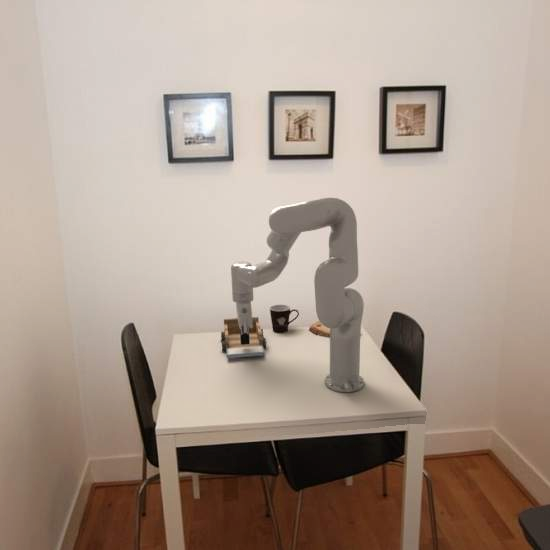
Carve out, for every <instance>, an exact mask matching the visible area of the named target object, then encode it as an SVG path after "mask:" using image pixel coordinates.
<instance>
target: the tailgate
mask: <svg viewBox="0 0 550 550" xmlns="http://www.w3.org/2000/svg"><path fill="white" fill-rule="evenodd" d="M265 353H266V352H265V348H263V346H250V347H237V348H227V353H226V358H227V359H231V358H232V359H233V358H243V357H258V356H265Z"/></svg>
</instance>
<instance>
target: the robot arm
mask: <svg viewBox="0 0 550 550" xmlns="http://www.w3.org/2000/svg"><path fill="white" fill-rule="evenodd" d="M269 214H270V215H269V218H268V225H269V228H270V229H271V230H270V232H269V234H268V235H267V237H266V244H267V246H268V247H269V249H270V250H271V252H270V253H269V255H268V257H267V259H265V261H263V262H260V263H257V264H254V265H252V263H251V262H248V261H237V262H233V263H232V264H231V265H230V273H231V274H230V275H231V292H232V293H231V295H232V302H234V303H235V304H236V306H235V307H236V318H237V319H238V324H239V328H240V329H241V333H240V338H241V345H244V344H250V340H249V328H253V324H252V317H253V310H252V302H254V288H255V289H256V288H260V287H261V286H264V285H266V284H269V283H271V282H274V281H276V280H277V279H278V278H279V277H280V275H281V274H282V272H283V271H284V269H285V268H286V266H287V265H288V262H289V259H290V258H289V256H290V250H291V249H292V247H293V245H294V244H295V242H296V241H297V239H298V238H299V236H300V235H301V234H302V233H306V232H312V231H317V230H320V229H323V228H327V227H330V233H329V238H328V250H329V251H328V252H329V253H328V259H327V260H325V261H323V262H321V263H320V264H319V265H318V267H317V268H316V269H315V272H314V278H313V279H314V281H313V282H314V298H315V299H314V300H315V313H316V315H317V319H318V321H320V322H321V323H322V324H323V325H324V326H325V327H327V328H330V338H329V374H327V375H326V376H325V377H324V384H325V386H326V387H327V388H328V389H330V390H332V391H334V392H339V393H354V392H357V391H359V390H361V389H362V388H364V386H365V380H364V378H363V377H362V376H361V375H360V365H361V364H360V363H361V362H360V360H361V359H360V358H361V355H360V354H361V335H360V334H361V333H362V331H361V329H362V321H363V316H364V315H363V314H364V307H365V304H364V299H363V297H362V294H360V292H359V291H357V289H354V288H350V287H348V286H350V285H352V284H353V283H355V282H357V279H358V277H359V253H358V251H359V250H358V249H359V248H358V224H357V223H358V222H357V217H356V214H355V211H354V210H353V208H352V206H351V205H349V204H348V203H347V202H346V201H345V200H342V199H340V198H338V197H323V198H320V199H314V200H309V201H304V202H299V203H291V204H286V205H280V206H277V207H275V208H274V209H273V210H272V211H271V212H270V213H269ZM248 326H249V327H248Z"/></svg>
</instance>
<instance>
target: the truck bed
mask: <svg viewBox="0 0 550 550" xmlns="http://www.w3.org/2000/svg"><path fill="white" fill-rule="evenodd" d="M252 324H253V328H249V340H250V344H244V345H241V338H240V333H241V329H240V328H239V324H238V319H237V317H236V318H235V317H234V318H224V319H223V331H221V332H220V336H221V337H220V338H221V350H222V352H225V354H227V348H237V347H250V346H263V348H264V349H265V348H267V339H266V338H265V337H264V330H263V328H261V325H260V321H259V316H252ZM248 327H249V326H248Z"/></svg>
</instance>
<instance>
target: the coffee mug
mask: <svg viewBox="0 0 550 550" xmlns="http://www.w3.org/2000/svg"><path fill="white" fill-rule="evenodd" d="M269 312H270V319H271V327H272V332H274V333H276V334H284V333H287V332H288V331H289V325H290V324H291V323H292V322H294V321H295V320H296V319H298V317H299V315H300V314H299V310H298V309H292V310H291V306H290V305H288V304H287V305H286V304H274V305H271V306H270V307H269ZM292 312H296V313H297V315H296V316H295V317H294V318H293V319H291V320H290V316H291V314H292Z"/></svg>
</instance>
